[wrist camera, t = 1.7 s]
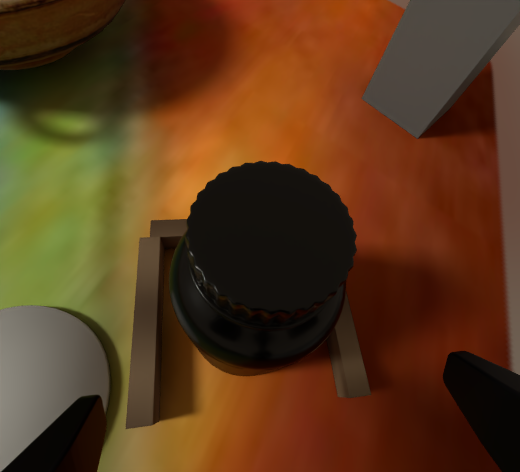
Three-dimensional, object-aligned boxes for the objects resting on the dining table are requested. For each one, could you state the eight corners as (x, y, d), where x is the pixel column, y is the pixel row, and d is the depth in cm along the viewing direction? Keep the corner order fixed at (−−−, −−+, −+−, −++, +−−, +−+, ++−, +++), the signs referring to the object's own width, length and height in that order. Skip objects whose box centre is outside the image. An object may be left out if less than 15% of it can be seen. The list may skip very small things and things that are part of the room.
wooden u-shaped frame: (357, 393, 18) (371, 394, 16) (135, 424, 16) (125, 428, 14) (319, 226, 22) (327, 214, 21) (147, 233, 20) (141, 220, 19)
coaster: (150, 382, 16) (148, 381, 16) (-31, 600, 12) (-41, 608, 12) (30, 274, 18) (26, 271, 18) (-164, 432, 14) (-176, 434, 14)
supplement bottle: (266, 250, 21) (314, 111, 10) (318, 341, 19) (450, 281, 8) (172, 293, 19) (111, 173, 8) (217, 401, 16) (215, 430, 6)
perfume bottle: (417, 138, 28) (677, -187, 12) (361, 98, 30) (525, -234, 14) (450, 108, 31) (697, -191, 15) (396, 73, 32) (568, -230, 16)
